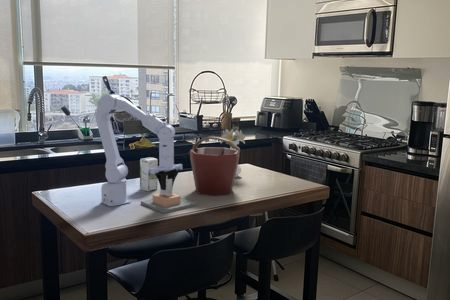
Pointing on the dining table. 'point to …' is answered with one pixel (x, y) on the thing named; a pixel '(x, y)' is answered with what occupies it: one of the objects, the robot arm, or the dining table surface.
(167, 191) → the steel block
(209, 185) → the bucket
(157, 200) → the well board
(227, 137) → the flower vase
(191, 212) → the dining table surface
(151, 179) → the syrup box
